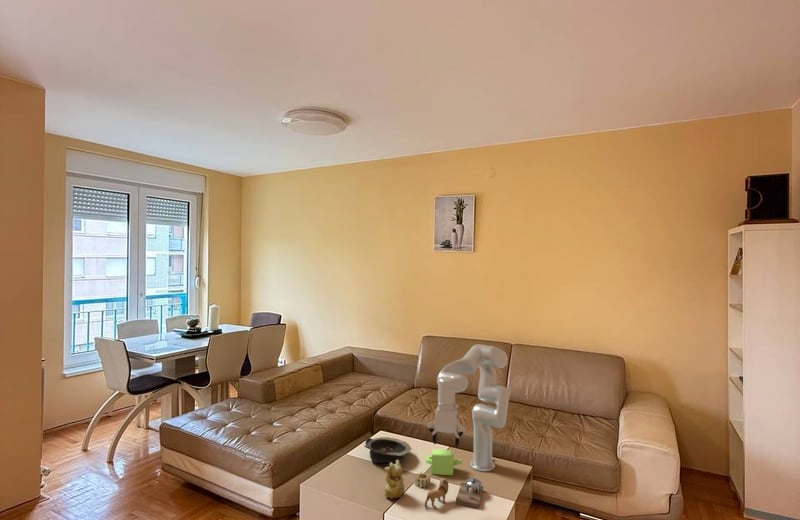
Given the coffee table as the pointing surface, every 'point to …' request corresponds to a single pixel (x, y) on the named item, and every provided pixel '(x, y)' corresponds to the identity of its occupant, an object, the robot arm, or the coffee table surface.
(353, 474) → the coffee table surface
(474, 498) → the gear board
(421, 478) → the brass gear
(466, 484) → the grey gear
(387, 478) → the decorative figurine
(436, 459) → the green square teapot
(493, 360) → the robot arm
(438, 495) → the lion figurine
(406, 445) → the stone bowl
